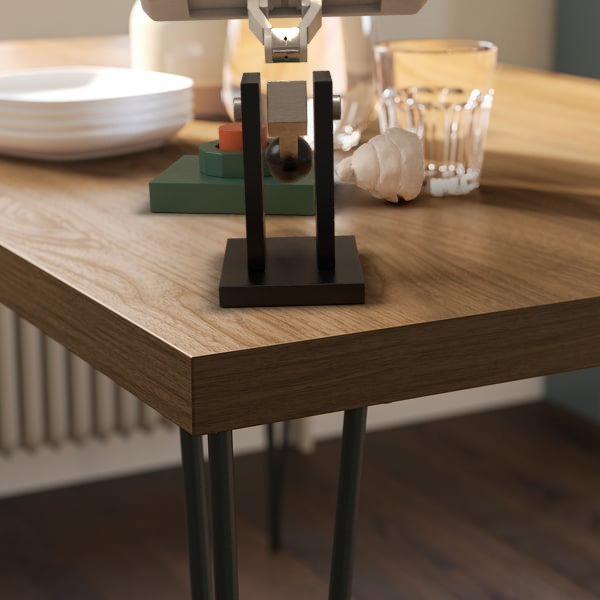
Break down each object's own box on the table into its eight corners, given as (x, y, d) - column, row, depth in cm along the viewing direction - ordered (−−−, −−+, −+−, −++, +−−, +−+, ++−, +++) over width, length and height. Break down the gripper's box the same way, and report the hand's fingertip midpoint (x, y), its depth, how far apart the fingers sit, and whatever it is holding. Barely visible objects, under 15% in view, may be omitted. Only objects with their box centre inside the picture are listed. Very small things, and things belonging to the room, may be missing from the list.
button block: (332, 183, 93) (332, 133, 92) (313, 215, 84) (312, 159, 82) (185, 181, 95) (182, 132, 94) (150, 212, 85) (146, 158, 84)
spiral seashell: (327, 197, 89) (326, 125, 87) (403, 191, 90) (404, 120, 88) (345, 214, 84) (344, 138, 82) (426, 208, 85) (426, 133, 83)
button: (271, 145, 89) (270, 122, 89) (262, 154, 86) (261, 130, 86) (225, 144, 90) (224, 122, 89) (214, 154, 87) (213, 130, 86)
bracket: (228, 256, 74) (219, 67, 70) (354, 253, 74) (353, 63, 70) (219, 307, 65) (209, 91, 61) (365, 303, 65) (363, 87, 61)
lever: (265, 188, 78) (264, 142, 79) (313, 187, 78) (312, 140, 79) (258, 130, 65) (257, 73, 65) (316, 128, 65) (315, 72, 65)
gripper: (421, -67, 88) (435, 82, 82) (148, -60, 88) (142, 90, 82) (428, -133, 83) (445, 22, 77) (137, -125, 83) (130, 31, 76)
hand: (286, 57), depth 79 cm, fingers closed
